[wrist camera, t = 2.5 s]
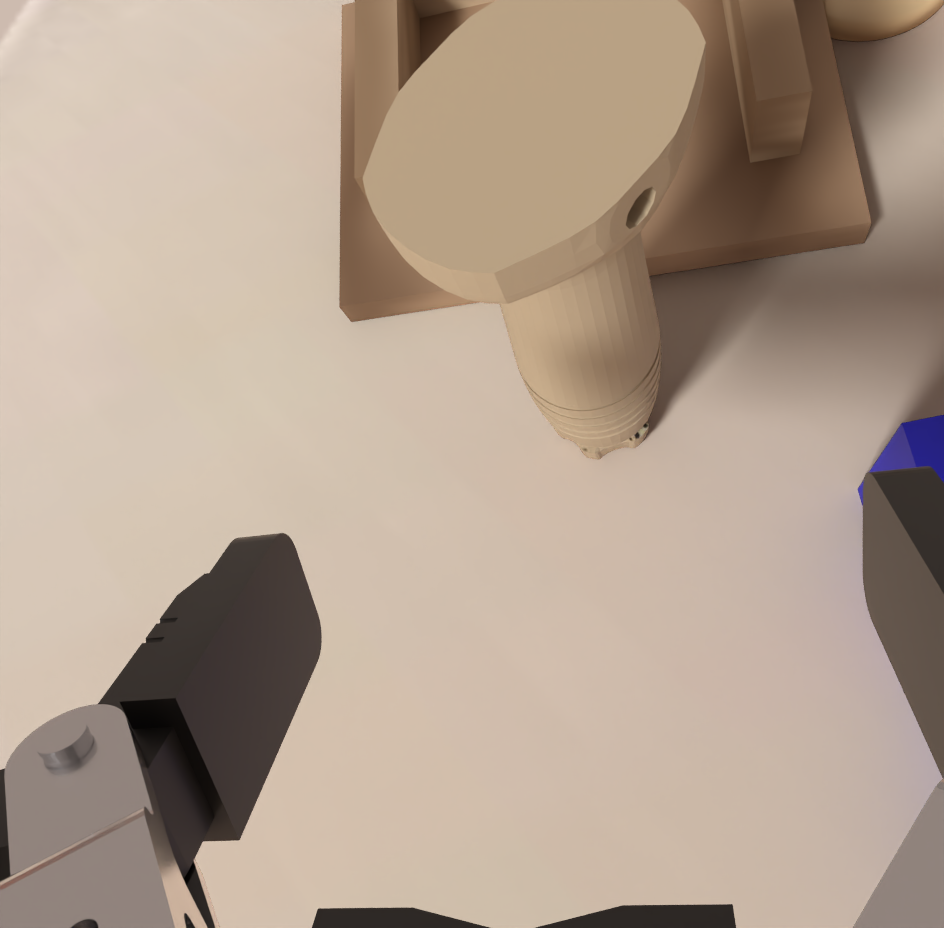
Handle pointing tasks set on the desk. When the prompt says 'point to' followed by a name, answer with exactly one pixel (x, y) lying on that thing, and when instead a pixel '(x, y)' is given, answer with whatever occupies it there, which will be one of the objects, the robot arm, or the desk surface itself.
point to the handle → (549, 190)
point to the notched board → (701, 170)
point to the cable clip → (914, 448)
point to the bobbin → (876, 17)
